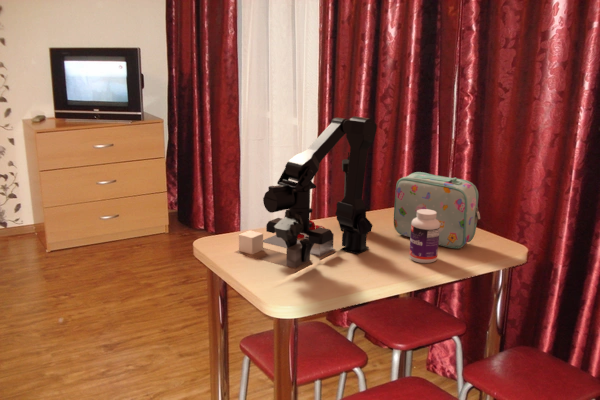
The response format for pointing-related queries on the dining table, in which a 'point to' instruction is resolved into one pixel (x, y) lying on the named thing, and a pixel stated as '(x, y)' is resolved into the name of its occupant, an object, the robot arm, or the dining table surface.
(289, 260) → the walnut strip
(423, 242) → the pill bottle
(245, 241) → the cream block
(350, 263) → the dining table surface
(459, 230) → the lunch box
